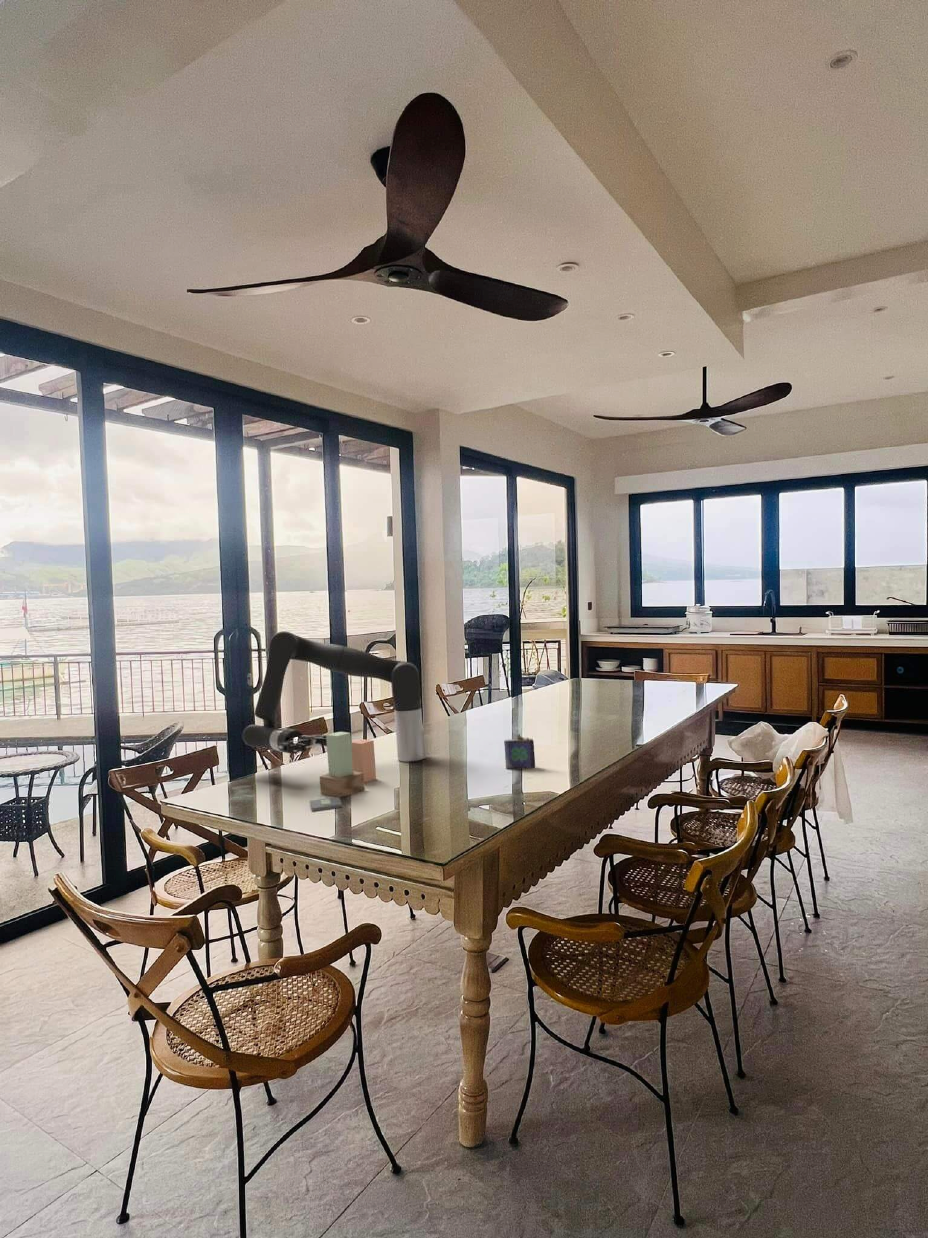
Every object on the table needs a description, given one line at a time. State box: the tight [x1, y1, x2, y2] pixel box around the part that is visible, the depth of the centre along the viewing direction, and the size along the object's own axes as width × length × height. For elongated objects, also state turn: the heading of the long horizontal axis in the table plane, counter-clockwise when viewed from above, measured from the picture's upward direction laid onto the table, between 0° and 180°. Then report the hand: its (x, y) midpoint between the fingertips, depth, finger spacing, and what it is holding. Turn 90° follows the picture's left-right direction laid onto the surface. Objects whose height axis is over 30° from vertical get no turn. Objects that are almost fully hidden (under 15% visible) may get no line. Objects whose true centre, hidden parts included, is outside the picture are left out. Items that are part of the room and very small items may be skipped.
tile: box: [309, 796, 343, 812], centre depth 196 cm, size 8×8×1 cm
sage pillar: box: [326, 731, 353, 778], centre depth 209 cm, size 5×5×12 cm
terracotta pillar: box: [351, 738, 377, 784], centre depth 221 cm, size 5×5×12 cm
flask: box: [503, 732, 536, 770], centre depth 222 cm, size 9×3×11 cm, turn 79°
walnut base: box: [319, 771, 365, 798], centre depth 209 cm, size 9×9×5 cm
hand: (317, 745), depth 216 cm, fingers open, 8 cm apart
